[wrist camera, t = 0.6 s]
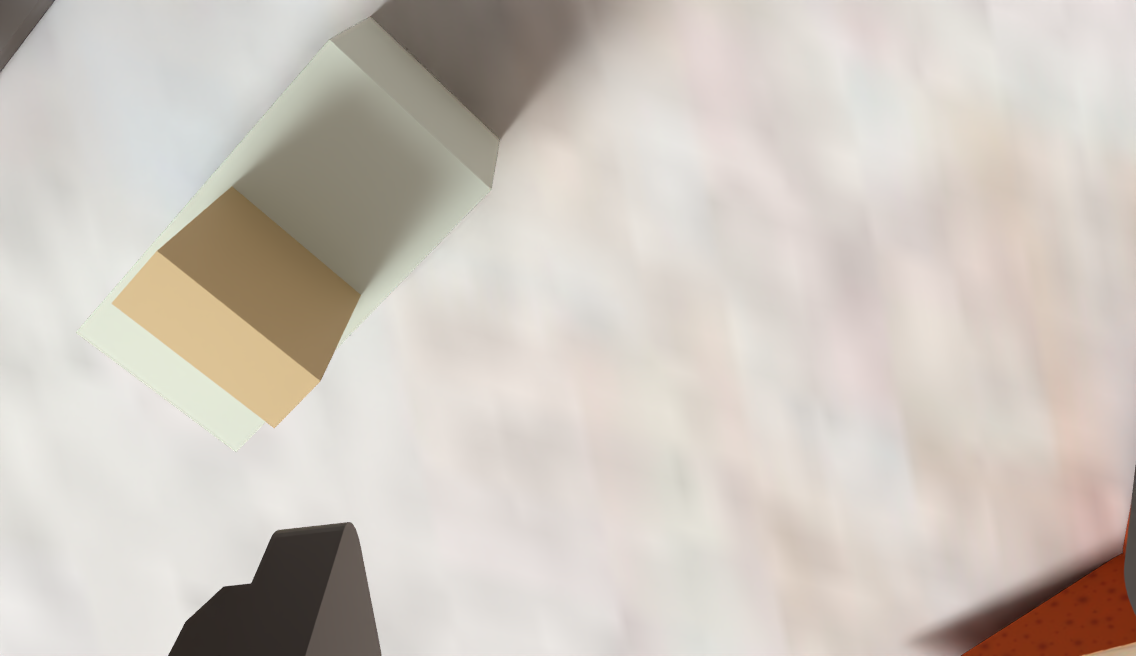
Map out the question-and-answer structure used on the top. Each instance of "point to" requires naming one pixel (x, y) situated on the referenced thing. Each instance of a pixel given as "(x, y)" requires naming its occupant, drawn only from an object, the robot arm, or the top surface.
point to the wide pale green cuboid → (298, 236)
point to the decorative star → (1074, 620)
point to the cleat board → (18, 24)
